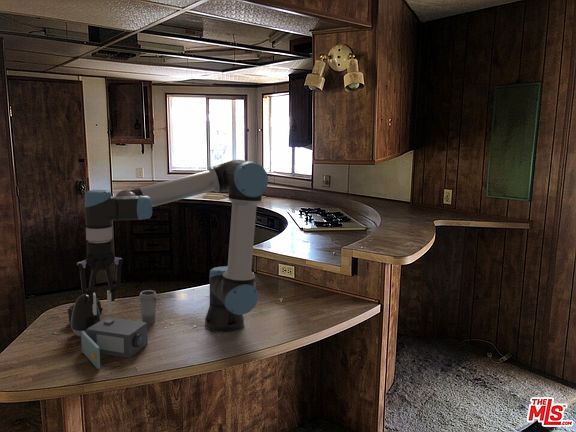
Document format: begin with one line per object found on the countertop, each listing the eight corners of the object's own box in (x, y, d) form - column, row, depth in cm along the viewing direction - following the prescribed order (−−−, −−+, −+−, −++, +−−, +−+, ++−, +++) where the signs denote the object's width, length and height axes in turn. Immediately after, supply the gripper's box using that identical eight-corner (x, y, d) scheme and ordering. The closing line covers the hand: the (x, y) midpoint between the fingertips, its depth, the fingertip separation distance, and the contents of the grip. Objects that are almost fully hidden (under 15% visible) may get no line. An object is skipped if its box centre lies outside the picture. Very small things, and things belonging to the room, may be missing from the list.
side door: (100, 368, 142) (100, 347, 141) (94, 370, 141) (93, 348, 139) (84, 350, 153) (83, 330, 152) (78, 351, 152) (77, 331, 151)
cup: (161, 322, 179) (160, 293, 177) (145, 327, 174) (145, 297, 172) (151, 317, 184) (150, 288, 182) (136, 321, 179) (135, 292, 177)
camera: (88, 328, 172) (87, 303, 170) (65, 325, 174) (63, 300, 172) (109, 315, 184) (108, 292, 183) (87, 313, 186) (86, 289, 185)
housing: (151, 344, 160) (150, 320, 158) (133, 359, 149) (132, 333, 148) (107, 338, 164) (106, 314, 162) (86, 351, 153) (85, 327, 152)
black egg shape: (83, 343, 159) (81, 301, 157) (65, 335, 165) (63, 295, 162) (108, 333, 168) (106, 293, 166) (90, 326, 173) (88, 288, 171)
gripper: (125, 235, 148) (127, 304, 152) (68, 240, 139) (71, 312, 143) (130, 240, 142) (132, 312, 145) (70, 245, 133) (74, 321, 137)
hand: (102, 312), depth 144 cm, fingers open, 4 cm apart
